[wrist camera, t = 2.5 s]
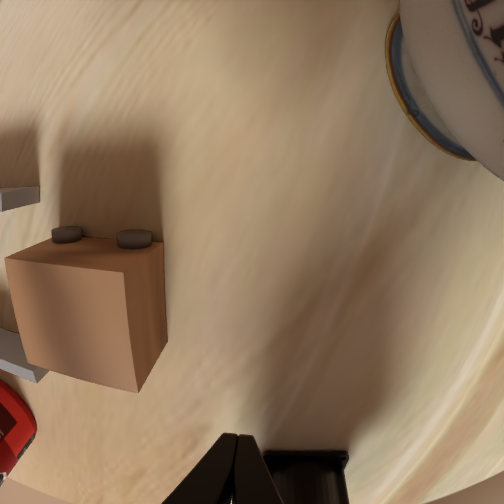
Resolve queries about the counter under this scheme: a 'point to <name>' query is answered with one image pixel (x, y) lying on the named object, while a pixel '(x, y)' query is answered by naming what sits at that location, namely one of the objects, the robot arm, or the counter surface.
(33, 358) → the brown toy brick
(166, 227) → the counter surface
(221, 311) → the counter surface
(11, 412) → the canned food
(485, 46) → the apothecary jar
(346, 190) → the counter surface
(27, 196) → the dock
